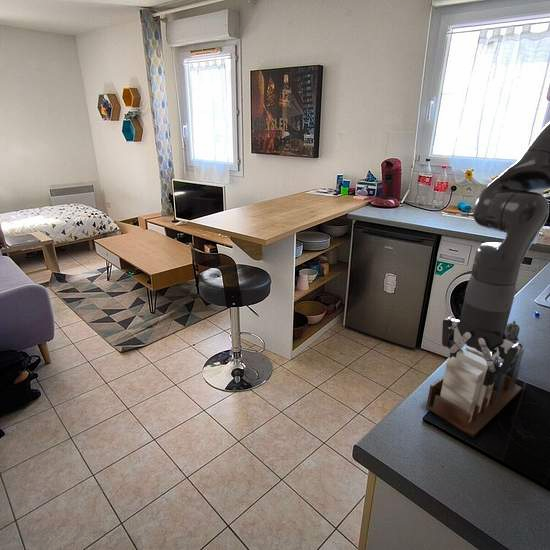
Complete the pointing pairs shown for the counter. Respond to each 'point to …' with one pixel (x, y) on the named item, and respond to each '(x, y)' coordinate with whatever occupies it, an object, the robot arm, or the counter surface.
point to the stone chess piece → (512, 332)
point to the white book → (479, 364)
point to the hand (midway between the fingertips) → (470, 375)
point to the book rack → (471, 393)
